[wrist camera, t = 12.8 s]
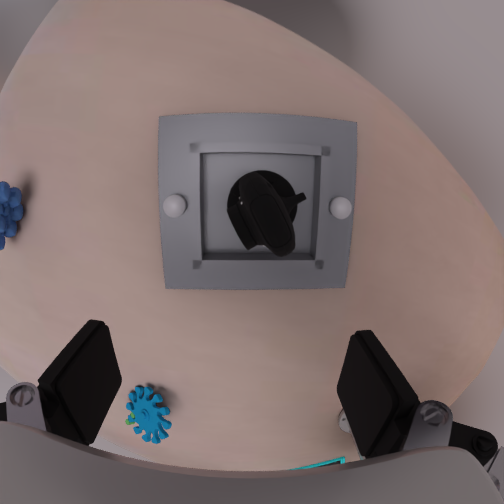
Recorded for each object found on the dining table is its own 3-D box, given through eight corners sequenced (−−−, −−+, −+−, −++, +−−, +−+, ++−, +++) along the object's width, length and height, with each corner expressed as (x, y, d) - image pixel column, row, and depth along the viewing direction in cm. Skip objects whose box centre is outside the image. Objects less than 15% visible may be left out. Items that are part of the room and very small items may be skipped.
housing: (353, 123, 28) (366, 119, 25) (342, 284, 34) (351, 296, 31) (161, 118, 27) (152, 112, 24) (167, 285, 33) (160, 297, 30)
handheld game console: (277, 469, 49) (277, 473, 48) (344, 453, 49) (345, 458, 47) (283, 483, 52) (284, 487, 51) (343, 469, 52) (344, 473, 50)
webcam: (214, 189, 29) (201, 200, 20) (276, 157, 28) (294, 152, 19) (247, 250, 31) (250, 288, 22) (307, 220, 30) (336, 245, 21)
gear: (153, 380, 36) (173, 442, 31) (178, 378, 41) (198, 433, 36) (114, 393, 39) (130, 446, 34) (139, 391, 44) (154, 440, 39)
